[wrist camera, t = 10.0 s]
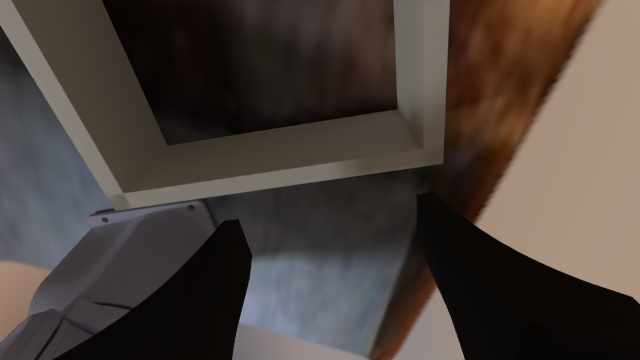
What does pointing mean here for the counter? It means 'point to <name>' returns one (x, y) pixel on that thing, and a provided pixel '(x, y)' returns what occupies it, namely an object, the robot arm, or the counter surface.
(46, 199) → the counter surface
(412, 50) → the open box
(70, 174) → the counter surface
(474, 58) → the counter surface
